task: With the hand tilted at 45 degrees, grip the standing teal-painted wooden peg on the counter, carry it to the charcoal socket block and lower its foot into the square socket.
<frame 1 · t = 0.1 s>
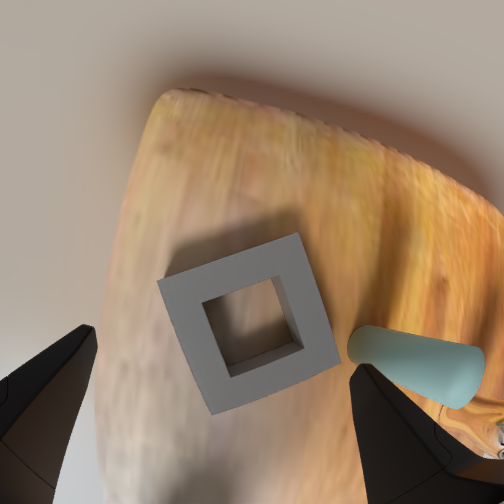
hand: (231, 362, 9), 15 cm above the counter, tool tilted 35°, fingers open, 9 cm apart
socket block: (248, 321, 24), on the counter
peg: (365, 345, 25), on the counter
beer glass: (453, 407, 27), on the counter
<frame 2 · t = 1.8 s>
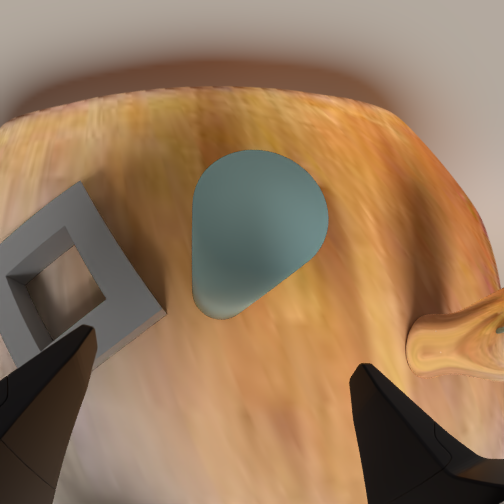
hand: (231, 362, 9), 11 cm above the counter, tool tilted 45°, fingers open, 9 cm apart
socket block: (67, 295, 18), on the counter
peg: (220, 291, 20), on the counter
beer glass: (426, 346, 22), on the counter
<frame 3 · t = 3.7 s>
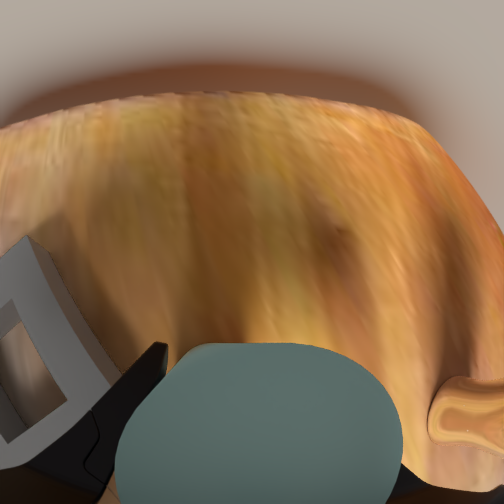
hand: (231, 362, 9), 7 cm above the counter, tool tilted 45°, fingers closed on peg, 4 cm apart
socket block: (30, 372, 12), on the counter
peg: (212, 378, 15), on the counter, touching gripper
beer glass: (449, 410, 17), on the counter
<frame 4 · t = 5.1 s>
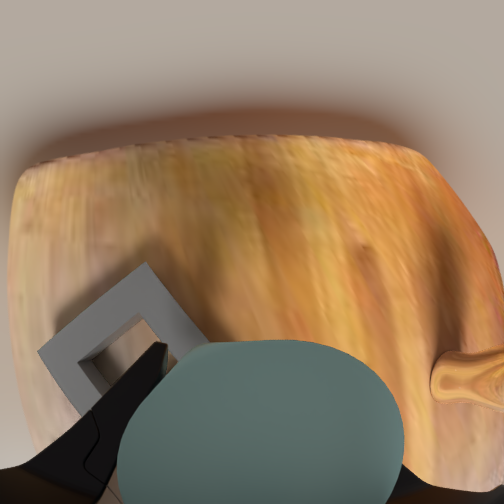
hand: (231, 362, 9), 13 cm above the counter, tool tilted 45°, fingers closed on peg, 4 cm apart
socket block: (141, 369, 20), on the counter
peg: (213, 377, 15), point 6 cm above the counter, touching gripper
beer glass: (445, 377, 24), on the counter
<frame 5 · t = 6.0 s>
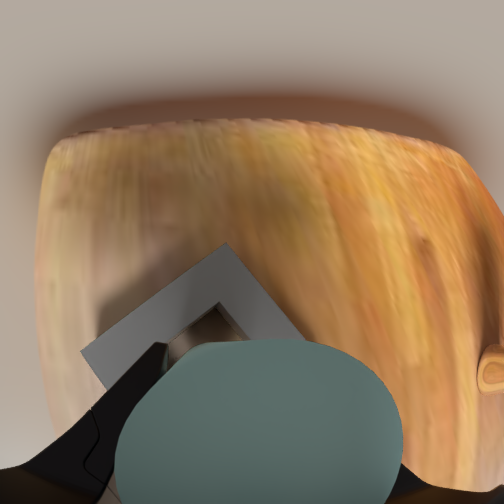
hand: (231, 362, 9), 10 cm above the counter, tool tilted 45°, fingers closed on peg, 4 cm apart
socket block: (209, 370, 18), on the counter
peg: (212, 377, 15), point 3 cm above the counter, touching gripper
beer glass: (488, 370, 22), on the counter
when the fingers open (8 cm above the counter, at t = 6.7 s): peg drops 1 cm, resting in socket block.
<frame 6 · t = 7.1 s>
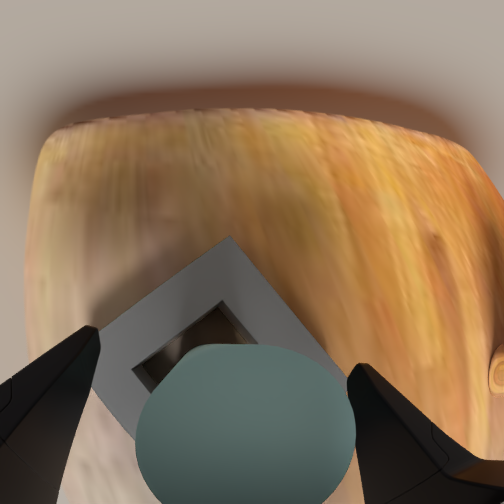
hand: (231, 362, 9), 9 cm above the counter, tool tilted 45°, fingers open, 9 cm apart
socket block: (210, 375, 16), on the counter
peg: (210, 376, 16), resting in socket block
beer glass: (499, 370, 21), on the counter
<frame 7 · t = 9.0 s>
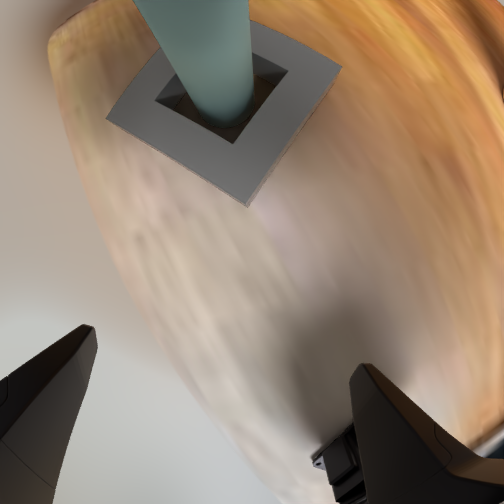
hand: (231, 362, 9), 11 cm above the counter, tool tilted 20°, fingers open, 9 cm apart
socket block: (225, 101, 18), on the counter
peg: (225, 102, 18), resting in socket block
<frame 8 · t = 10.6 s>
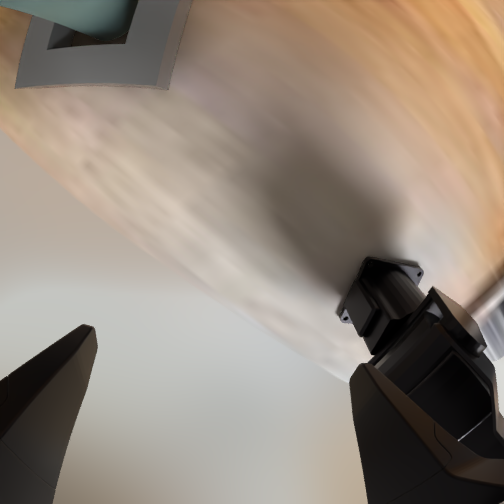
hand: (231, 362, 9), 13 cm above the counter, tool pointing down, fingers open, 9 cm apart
socket block: (113, 15, 13), on the counter
peg: (113, 16, 13), resting in socket block
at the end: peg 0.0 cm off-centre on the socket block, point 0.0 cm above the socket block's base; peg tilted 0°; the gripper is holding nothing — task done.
